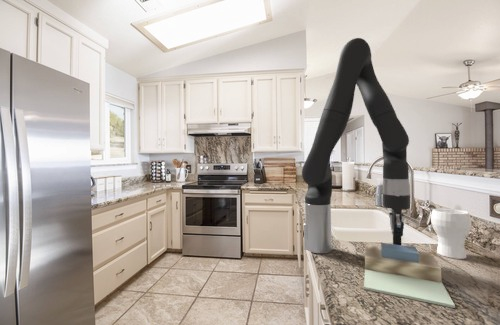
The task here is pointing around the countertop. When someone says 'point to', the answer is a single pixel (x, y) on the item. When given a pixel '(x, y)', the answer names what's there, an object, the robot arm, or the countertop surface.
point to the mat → (407, 287)
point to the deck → (403, 265)
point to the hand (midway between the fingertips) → (397, 247)
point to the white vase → (451, 231)
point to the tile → (399, 252)
